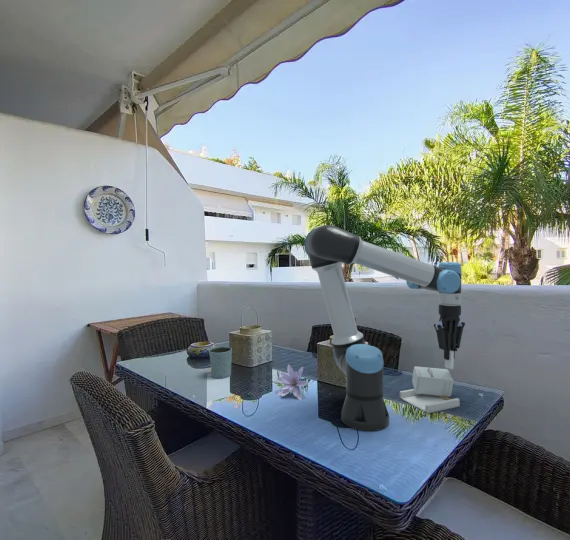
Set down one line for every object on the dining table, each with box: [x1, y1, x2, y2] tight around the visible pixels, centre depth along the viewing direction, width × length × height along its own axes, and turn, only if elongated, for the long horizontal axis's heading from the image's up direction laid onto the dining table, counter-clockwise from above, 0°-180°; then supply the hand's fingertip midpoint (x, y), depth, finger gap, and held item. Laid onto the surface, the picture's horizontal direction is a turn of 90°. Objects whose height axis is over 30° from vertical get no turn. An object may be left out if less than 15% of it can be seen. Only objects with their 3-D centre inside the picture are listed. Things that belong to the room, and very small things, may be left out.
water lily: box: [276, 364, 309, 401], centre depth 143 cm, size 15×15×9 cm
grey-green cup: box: [208, 346, 233, 380], centre depth 165 cm, size 10×10×12 cm
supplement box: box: [411, 365, 455, 398], centre depth 137 cm, size 7×7×13 cm
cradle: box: [399, 388, 461, 414], centre depth 132 cm, size 14×14×2 cm
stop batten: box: [436, 395, 452, 400], centre depth 135 cm, size 1×12×1 cm, turn 21°
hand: (449, 367), depth 135 cm, fingers closed
